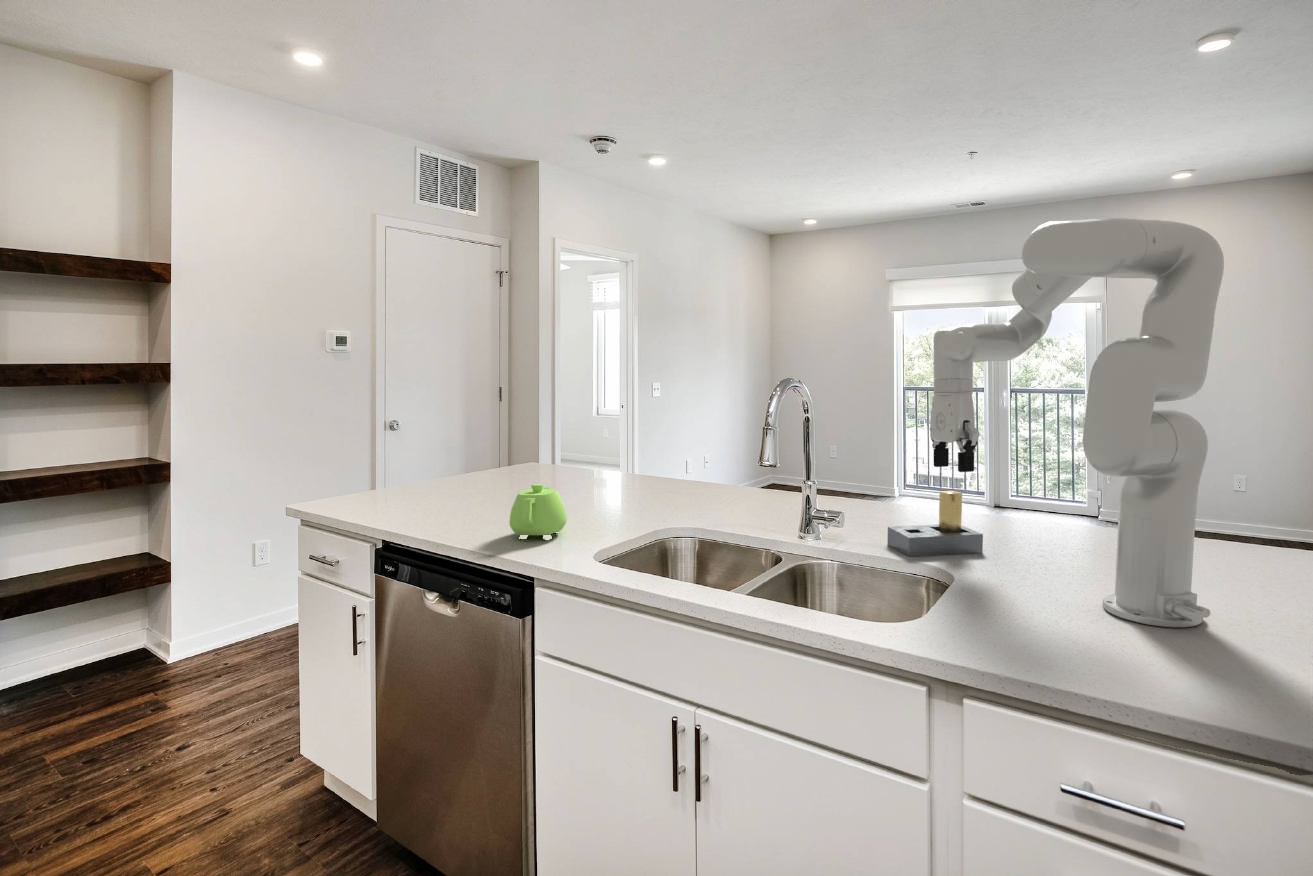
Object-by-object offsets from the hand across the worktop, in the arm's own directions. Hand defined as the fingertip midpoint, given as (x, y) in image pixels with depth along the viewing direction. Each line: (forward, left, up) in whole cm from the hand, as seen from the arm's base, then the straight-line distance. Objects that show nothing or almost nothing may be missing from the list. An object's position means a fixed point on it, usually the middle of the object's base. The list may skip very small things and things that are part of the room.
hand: (953, 469), depth 144 cm
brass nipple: (+1, 0, -17) cm, 17 cm away
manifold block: (+1, +4, -17) cm, 18 cm away
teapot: (+29, +89, -17) cm, 95 cm away
